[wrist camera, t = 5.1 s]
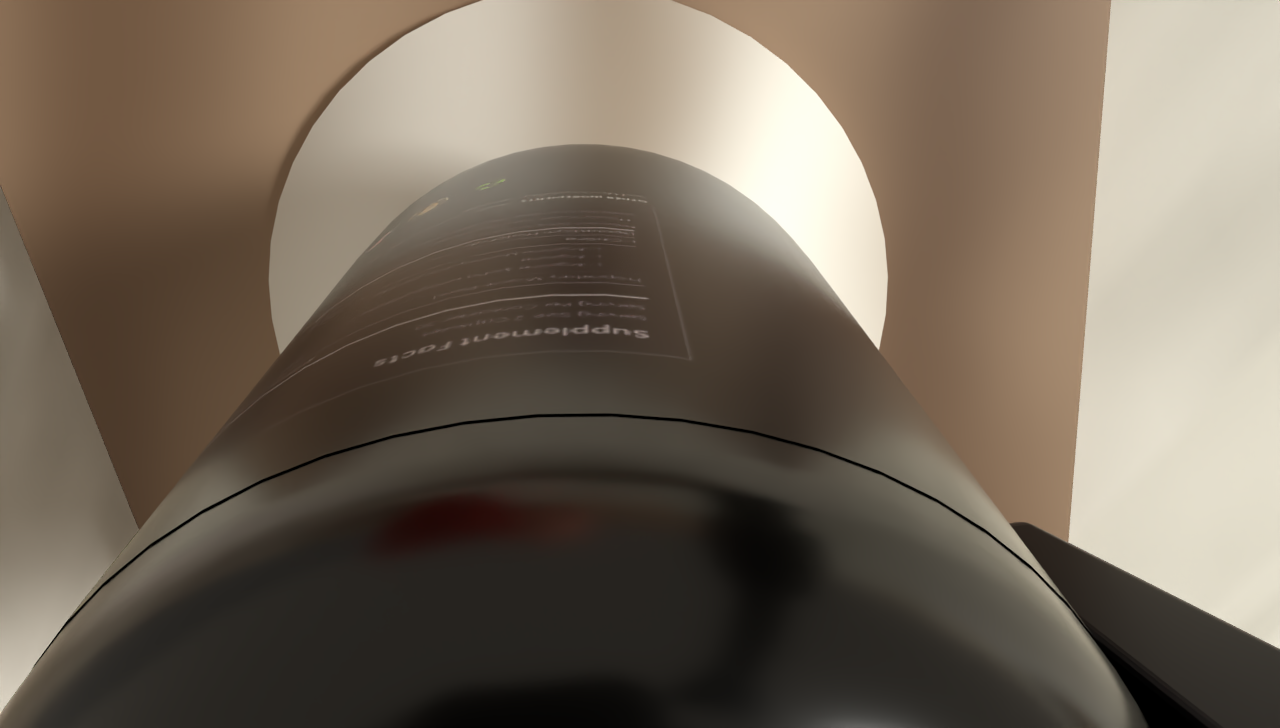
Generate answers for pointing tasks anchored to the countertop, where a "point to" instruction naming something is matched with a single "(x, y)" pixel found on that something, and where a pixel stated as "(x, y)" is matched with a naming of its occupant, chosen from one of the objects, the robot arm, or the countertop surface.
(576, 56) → the walnut board
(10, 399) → the countertop surface
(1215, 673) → the robot arm
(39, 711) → the supplement bottle
